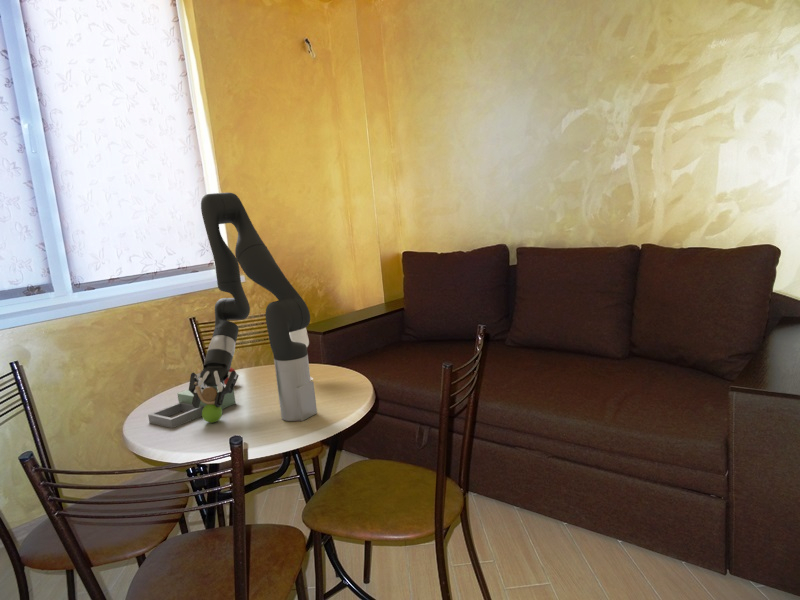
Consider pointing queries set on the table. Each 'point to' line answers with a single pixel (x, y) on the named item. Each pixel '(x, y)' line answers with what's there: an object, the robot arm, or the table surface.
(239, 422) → the table surface
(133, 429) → the table surface
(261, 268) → the robot arm
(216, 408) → the snail figurine
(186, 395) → the box with drawer
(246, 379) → the table surface
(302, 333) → the champagne flute
